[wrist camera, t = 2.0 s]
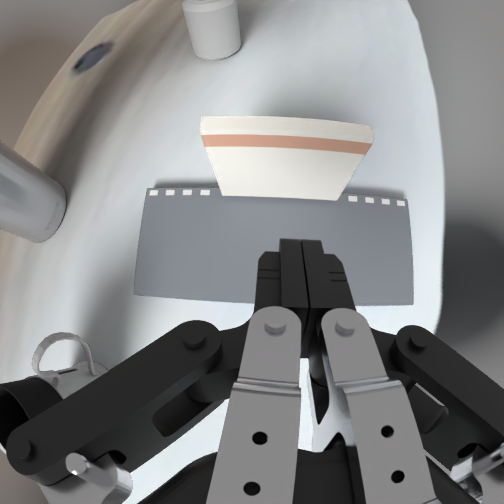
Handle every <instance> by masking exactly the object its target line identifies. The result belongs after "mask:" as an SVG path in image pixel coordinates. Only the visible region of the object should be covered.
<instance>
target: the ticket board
mask: <svg viewBox="0 0 504 504" xmlns="http://www.w3.org/2000/svg"><path fill="white" fill-rule="evenodd" d="M280 238H289V239H300V240H301V239H311V240H321V242H322V246H323V250H324V254H335V255H336V256H337V258H338V259H339V260H340V261H341V262H342V263H343V267H344V270H345V274H346V277H347V280H348V281H347V282H348V283H349V287H350V290H351V294H352V297H353V301H354V304H355V306H393V305H413V300H414V292H413V257H412V241H411V229H410V218H409V209H408V201H407V199H400V198H391V197H381V196H371V195H360V194H348V193H341V195H340V196H339V198H338V200H337V201H334V200H319V199H302V198H281V197H255V196H222V193H221V190H220V188H209V187H194V188H147V191H146V197H145V203H144V209H143V215H142V222H141V229H140V236H139V244H138V252H137V261H136V270H135V281H134V293H133V294H135V295H142V296H153V297H164V298H176V299H188V300H202V301H217V302H234V303H254V304H255V294H256V282H257V271H258V259H259V258H260V257H261V255H262V254H263V253H264V252H265V251H275V252H279V240H280Z"/></svg>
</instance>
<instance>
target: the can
mask: <svg viewBox="0 0 504 504" xmlns="http://www.w3.org/2000/svg"><path fill="white" fill-rule="evenodd" d="M182 8H183V12H184V16H185V19H186V23H187V27H188V31H189V35H190V39H191V42H192V46H193V50H194V52H195V54H196V55H197V56H198V57H200V58H204V59H207V60H221V59H225V58H227V57H229V56H231V55H232V54H234V53H235V52H236V51H237V50H239V48H240V46H241V40H240V30H239V19H238V9H237V0H185V1H184V2H183V5H182Z"/></svg>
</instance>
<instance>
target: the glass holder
mask: <svg viewBox="0 0 504 504" xmlns="http://www.w3.org/2000/svg"><path fill="white" fill-rule="evenodd" d="M64 339H67V340H76V341H79V342H80V343H81V344H82V346H83V348H84V350H85V354H86V360H87V361H81V362H79V363H76V364H75V365H74V366H73V367H71V368H67V369H63V370H58V371H53V370H50V371H40V370H39V362H40V360H41V357H42V355H43V354H44V352H45V350H46V349H47V348H48V347H49V346H50V345H51V344H53V343H55V342H56V341H60V340H64ZM32 367H33V370H34V371H35V372H36V373H37V374H38V375H34V376H29V377H27V378H25V379H24V380H19V381H14V382H8V383H3V384H0V443H1V445H2V446H3V447H4V449H5V450H6V444H7V440H8V437H9V435H10V434H11V432H12V431H13V430H14V429H16V428H17V427H19V426H21V425H22V424H24V423H26V422H27V421H29V420H31V419H32V418H34V417H35V416H37V415H39V414H40V413H42V412H44V411H45V410H47V409H49V408H50V407H52V406H53V405H55V404H57V403H58V402H60V401H62V400H63V399H65V398H66V397H68V396H70V395H71V394H73V393H74V392H76V391H78V390H79V389H81V388H82V387H84V386H85V385H87V384H89V383H90V382H92V381H93V380H95V379H97V378H98V377H100V376H101V375H103V374H104V373H106V372H108V370H107V369H106V368H105V367H104V366H102V365H101V364H98V363H96V362H93V361H92V356H91V351H90V348H89V346H88V344H87V343H86V342H85V341H84V340H82V339H81V338H80V337H79V336H77V335H74V334H71V333H63V332H59V333H55V334H51V335H50V336H48V337H46V338H45V339H44V340H43V341H42V342H41V343H40V344H39V345H38V347H37V349H36V351H35V352H34V355H33V358H32Z"/></svg>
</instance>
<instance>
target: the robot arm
mask: <svg viewBox="0 0 504 504" xmlns="http://www.w3.org/2000/svg"><path fill="white" fill-rule="evenodd" d="M65 208H66V194H65V191H64V189H63V187H62V186H61V185H60V184H59V183H58V182H56V181H55V180H54V179H52V178H51V177H49V176H48V175H47V174H45V173H44V172H43V171H41V170H40V169H38V168H37V167H36V166H34V165H33V164H32V163H30V162H29V161H27V160H26V159H25V158H23V157H22V156H21V155H19V154H18V153H17V152H15V151H14V150H13V149H11V148H10V147H9V146H7V145H6V144H5V143H3V142H2V141H1V140H0V229H1V230H4V231H7V232H9V233H12V234H14V235H16V236H19V237H22V238H24V239H27V240H30V241H32V242H36V243H39V242H43V241H45V240H47V239H48V238H50V237H51V236H52V235H53V234H54V233H55V231H56V230H57V228H58V227H59V225H60V223H61V221H62V218H63V216H64V212H65ZM347 281H348V280H347V277H346V274H345V270H344V267H343V263H342V262H341V261H340V260H339V259H338V258H337V256H336V255H335V254H324V250H323V246H322V242H321V240H311V239H301V240H300V239H289V238H280V240H279V252H275V251H265V252H264V253H263V254H262V255H261V257H260V258H259V259H258V271H257V282H256V294H255V306H254V312H253V315H252V316H251V318H250V319H249V320H248V321H247V322H246V323H244V324H243V325H241V326H239V327H236V328H232V329H227V330H222V331H219V330H218V329H217V328H216V327H215V326H214V325H212V324H211V323H209V322H206V321H201V320H193V321H187V322H184V323H182V324H180V325H178V326H177V327H175V328H174V329H172V330H171V331H169V332H168V333H166V334H165V335H163V336H162V337H160V338H158V339H157V340H155V341H154V342H152V343H151V344H149V345H148V346H146V347H145V348H143V349H142V350H140V351H139V352H137V353H136V354H134V355H132V356H131V357H129V358H128V359H126V360H125V361H123V362H122V363H120V364H118V365H117V366H115V367H114V368H112V369H111V370H109V371H108V372H106V373H104V374H103V375H101V376H100V377H98V378H97V379H95V380H93V381H92V382H90V383H89V384H87V385H85V386H84V387H82V388H81V389H79V390H78V391H76V392H74V393H73V394H71V395H70V396H68V397H66V398H65V399H63V400H62V401H60V402H58V403H57V404H55V405H53V406H52V407H50V408H49V409H47V410H45V411H44V412H42V413H40V414H39V415H37V416H35V417H34V418H32V419H31V420H29V421H27V422H26V423H24V424H22V425H21V426H19V427H17V428H16V429H14V430H13V431H12V432H11V434H10V435H9V437H8V440H7V444H6V454H7V458H8V460H9V463H10V464H11V466H12V467H13V468H14V469H15V470H16V471H17V472H19V473H20V474H22V475H24V476H26V477H28V478H30V479H32V480H34V481H35V482H36V483H37V484H38V485H39V486H40V488H41V490H42V492H43V493H44V495H45V497H46V499H47V500H48V502H49V504H122V503H123V502H124V501H125V500H126V499H127V498H128V497H129V496H130V494H131V492H132V488H133V482H132V478H131V475H130V473H131V472H132V471H134V470H135V469H137V468H138V467H140V466H141V465H143V464H144V463H145V462H147V461H148V460H150V459H151V458H153V457H154V456H155V455H157V454H158V453H160V452H161V451H162V450H164V449H165V448H166V447H168V446H169V445H170V444H172V443H173V442H174V441H176V440H177V439H178V438H180V437H181V436H182V435H184V434H185V433H186V432H187V431H189V430H190V429H191V428H193V427H194V426H195V425H196V424H198V423H199V422H200V421H201V420H203V419H204V418H205V417H206V416H207V415H209V414H210V413H211V412H212V411H214V410H215V409H216V408H217V407H218V406H220V405H221V404H222V403H223V402H224V400H225V399H229V398H230V400H229V404H228V409H227V413H226V418H225V422H224V427H223V431H222V436H221V440H220V445H219V449H218V452H215V453H211V454H209V455H206V456H203V457H201V458H199V459H197V460H195V461H193V462H192V463H190V464H188V465H187V466H186V467H184V468H183V469H182V470H180V471H179V472H178V473H177V474H176V475H174V476H173V477H172V478H171V479H169V480H168V481H167V482H166V483H164V484H163V485H162V486H160V487H159V488H158V489H156V490H155V491H154V492H153V493H151V494H150V495H148V496H147V497H146V498H144V499H143V500H142V501H140V502H139V503H137V504H504V389H503V388H502V387H500V386H499V385H498V384H497V383H495V382H494V381H493V380H492V379H490V378H489V377H488V376H487V375H485V374H484V373H483V372H482V371H480V370H479V369H478V368H476V367H475V366H474V365H473V364H471V363H470V362H469V361H467V360H466V359H465V358H464V357H462V356H461V355H460V354H458V353H457V352H456V351H455V350H453V349H452V348H450V347H449V346H448V345H447V344H445V343H444V342H443V341H441V340H440V339H438V338H437V337H436V336H435V335H433V334H432V333H431V332H429V331H428V330H426V329H425V328H422V327H420V326H416V325H409V326H405V327H403V328H401V329H400V330H399V331H398V333H397V335H393V334H389V333H385V332H381V331H377V330H375V329H372V328H371V327H369V324H368V322H367V320H366V319H365V318H364V317H363V316H362V315H361V314H360V313H358V312H356V308H355V304H354V301H353V297H352V294H351V290H350V287H349V283H348V282H347ZM300 358H308V359H309V369H308V373H307V385H308V392H309V399H310V407H311V414H312V421H313V437H312V452H311V451H306V450H302V449H298V438H299V424H300V409H301V388H299V371H300ZM416 383H418V384H419V385H420V386H422V387H423V388H424V389H425V390H426V391H428V392H429V393H430V394H431V395H433V396H434V397H435V398H436V399H437V400H439V401H440V402H441V403H442V404H444V405H445V406H441V405H439V404H438V403H437V402H435V401H434V400H433V399H432V398H430V397H429V396H428V395H427V394H426V393H424V392H423V391H422V390H420V389H419V388H418V387H417V386H416V385H415V384H416ZM424 449H425V450H426V451H427V452H428V453H429V454H430V455H432V456H433V457H434V458H435V459H436V460H438V461H439V462H440V463H441V464H442V465H444V466H445V467H446V468H447V469H449V470H450V471H451V475H450V476H449V475H447V474H446V473H445V472H444V471H443V470H442V469H441V468H440V467H438V466H437V465H436V464H435V463H434V462H433V461H432V460H431V459H430V458H428V457H427V456H426V455H425V452H424Z"/></svg>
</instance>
